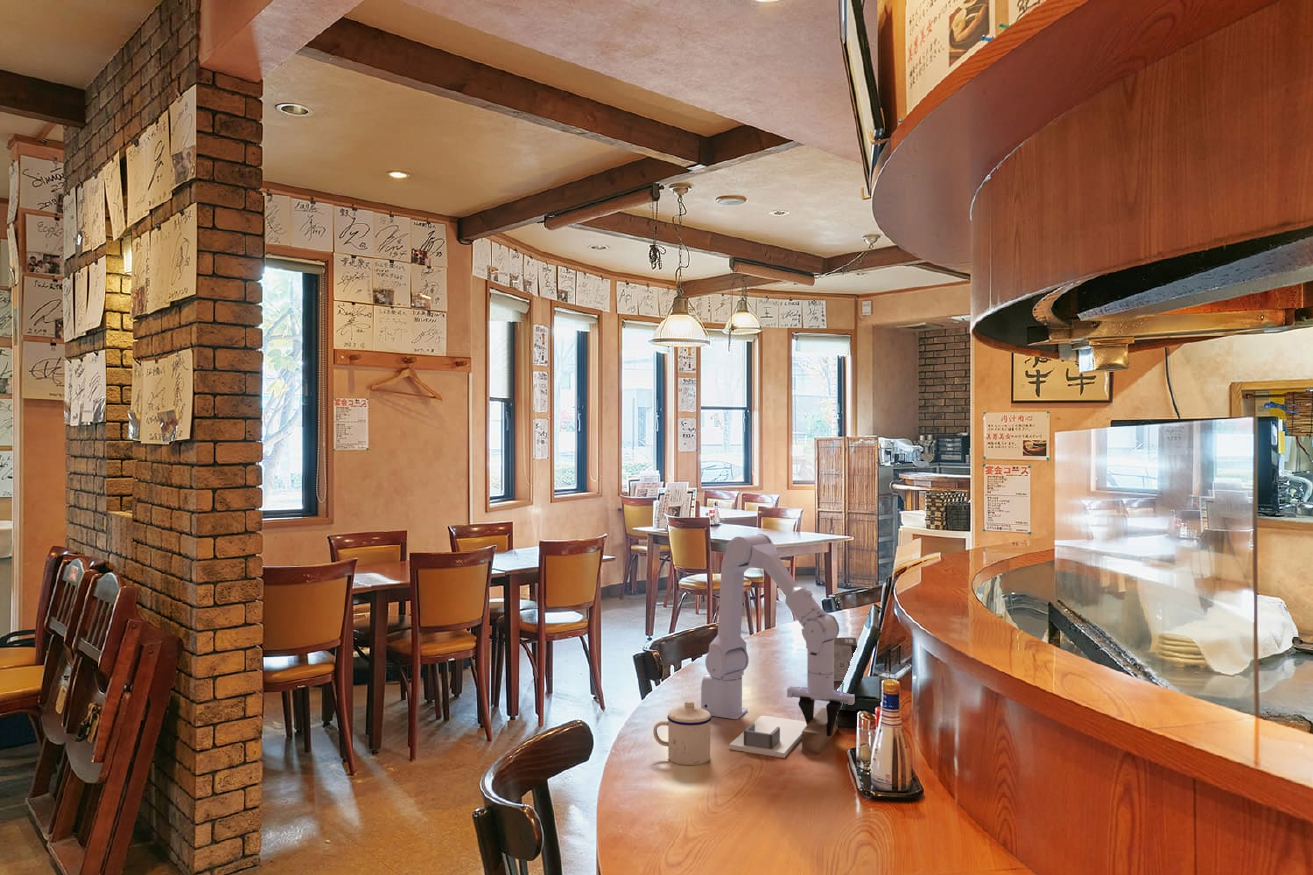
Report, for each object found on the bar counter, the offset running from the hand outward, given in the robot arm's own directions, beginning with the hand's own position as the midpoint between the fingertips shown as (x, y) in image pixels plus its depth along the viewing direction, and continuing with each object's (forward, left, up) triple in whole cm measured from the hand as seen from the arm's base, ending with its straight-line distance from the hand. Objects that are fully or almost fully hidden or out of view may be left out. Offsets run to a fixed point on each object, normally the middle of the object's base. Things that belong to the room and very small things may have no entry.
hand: (820, 733), depth 193 cm
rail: (0, 0, -2) cm, 2 cm away
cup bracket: (-10, -3, -1) cm, 11 cm away
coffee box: (-1, +27, -2) cm, 27 cm away
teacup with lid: (-23, -23, -2) cm, 33 cm away
